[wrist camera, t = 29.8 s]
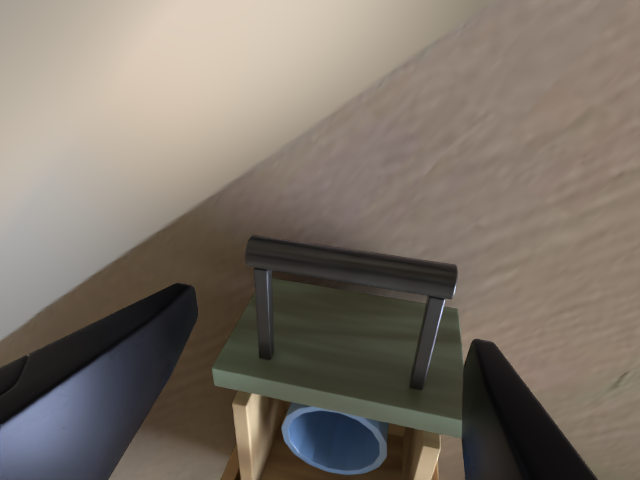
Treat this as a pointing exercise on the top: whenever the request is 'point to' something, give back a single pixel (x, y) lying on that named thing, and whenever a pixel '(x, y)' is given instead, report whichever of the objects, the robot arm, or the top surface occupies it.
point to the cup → (335, 439)
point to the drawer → (344, 357)
